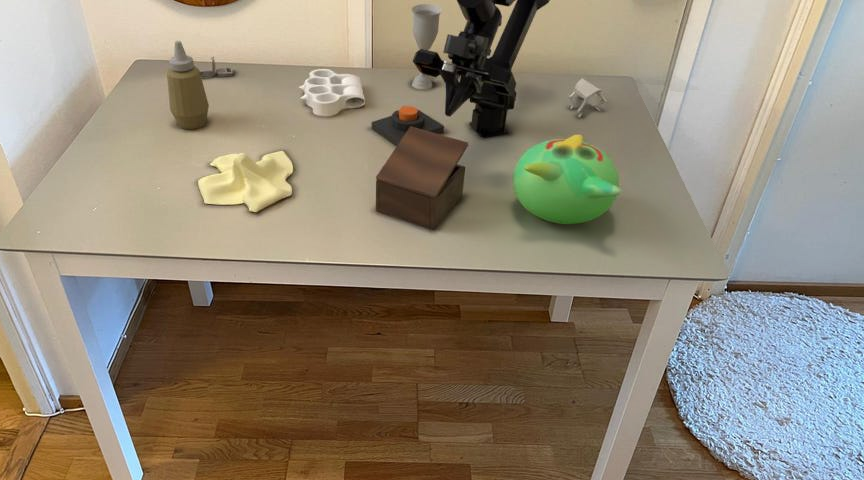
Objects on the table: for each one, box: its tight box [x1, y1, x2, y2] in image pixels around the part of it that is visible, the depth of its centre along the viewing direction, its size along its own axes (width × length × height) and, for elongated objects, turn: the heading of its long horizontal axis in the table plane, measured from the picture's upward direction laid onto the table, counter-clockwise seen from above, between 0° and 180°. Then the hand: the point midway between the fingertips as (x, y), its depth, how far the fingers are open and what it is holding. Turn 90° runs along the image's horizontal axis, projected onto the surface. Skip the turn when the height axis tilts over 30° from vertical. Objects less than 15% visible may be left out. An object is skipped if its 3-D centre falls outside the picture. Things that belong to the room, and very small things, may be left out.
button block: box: [371, 107, 445, 147], centre depth 146 cm, size 12×10×4 cm
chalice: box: [411, 3, 443, 90], centre depth 159 cm, size 7×7×18 cm
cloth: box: [197, 150, 294, 213], centre depth 129 cm, size 22×19×6 cm
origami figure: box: [568, 77, 608, 118], centre depth 156 cm, size 12×8×5 cm
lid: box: [375, 126, 469, 199], centre depth 121 cm, size 13×12×1 cm
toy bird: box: [512, 133, 623, 225], centre depth 119 cm, size 18×17×15 cm
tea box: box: [375, 163, 466, 231], centre depth 124 cm, size 13×12×6 cm
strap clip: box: [200, 56, 234, 79], centre depth 165 cm, size 8×3×4 cm, turn 104°
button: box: [398, 105, 419, 121], centre depth 145 cm, size 4×4×2 cm
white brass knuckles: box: [298, 68, 366, 118], centre depth 157 cm, size 3×18×15 cm
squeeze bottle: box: [166, 40, 210, 130], centre depth 142 cm, size 8×8×18 cm
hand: (447, 115), depth 124 cm, fingers closed
